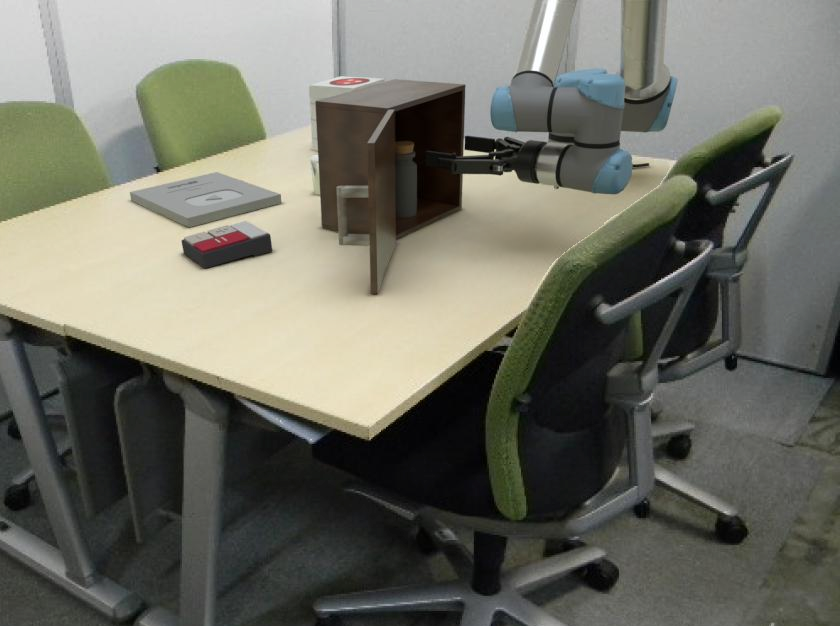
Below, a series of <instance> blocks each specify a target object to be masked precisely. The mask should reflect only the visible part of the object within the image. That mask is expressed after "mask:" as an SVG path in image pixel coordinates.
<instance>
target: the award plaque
mask: <svg viewBox="0 0 840 626" xmlns="http://www.w3.org/2000/svg"><path fill="white" fill-rule="evenodd" d="M129 197H130V201H131V202H133V203H135V204H137V205H139V206H141V207H144V208H146V209H148V210H150V211H152V212H154V213H156V214H159V215H161V216H163V217H165V218H167V219H169V220H171V221H174V222H176V223H178V224H180V225H182V226H184V227H186V228H192V227H196V226H201V225H203V224H207V223H211V222H216V221H219V220H223V219H227V218H231V217H234V216H239V215H242V214H246V213H250V212H254V211H257V210H262V209H265V208H268V207H273V206H277V205H280V204H282V194H281V193H278V192H275V191H272V190H270V189H267V188H264V187H261V186H258V185H256V184H252V183H249V182H247V181H244V180H241V179H238V178H235V177H232V176H230V175H227V174H224V173H221V172H219V171H216V172H211V173H207V174H202V175H198V176H194V177H188V178H185V179H180V180H176V181H171V182H167V183H163V184H159V185H155V186H151V187H145V188H141V189H137V190H132V191H130V192H129Z"/></svg>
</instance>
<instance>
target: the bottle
mask: <svg viewBox="0 0 840 626" xmlns="http://www.w3.org/2000/svg"><path fill="white" fill-rule="evenodd" d="M413 147H414V142H411V141H397V142H395V202H396V218H410V217H413V216H415V215H416V214H417V164H416V163H415V162H413V161H412V158H414V157H415V151H413Z"/></svg>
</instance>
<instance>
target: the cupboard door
mask: <svg viewBox="0 0 840 626" xmlns="http://www.w3.org/2000/svg"><path fill="white" fill-rule="evenodd" d="M367 160H368V186H337V208H338V231H339V232H338V245H339V246H342V247H343V246H345V247H347V246H348V247H349V246H350V247H353V246H354V247H356V246H357V247H358V246H360V247H369V268H370V269H369V273H370V274H369V275H370V279H369V280H370V294H372V295H378V294H379V292H380V288H381V287H382V286H381V285H382V283H383V280H384V277H385V275H386V271H387V269H388V266H389V264H390V261H391V258H392V256H393V252H394V250H395V247H396V244H397V240H396V202H395V110H388V111H387V113H386V114H385V116H384V117H383V119H382V120H381V122H380V124H379V125H378V127H377V128H376V130H375V131H374V133H373V135H372V136H371V138H370V139H369V141H368V143H367ZM347 198H368V200H369V234H348V223H347Z"/></svg>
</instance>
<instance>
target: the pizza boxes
mask: <svg viewBox="0 0 840 626" xmlns="http://www.w3.org/2000/svg"><path fill="white" fill-rule="evenodd" d="M383 82H386V78H378V77H363V76H362V77H361V76H346V75H345V76H343V75H340V76H337V77H333V78H329V79H326V80H322V81H318V82H316V83H312V84H309V85H308V93H309V94H308V95H309V96H308V97H309V108H310V110H309V111H310V128H311V131H310V132H311V147H312V148H311V149H312V151H316V152H318V143H317V124H316V105H315V101H317V100H321V99H325V98H328V97H332V96H335V95H339V94H343V93H346V92H350V91H354V90H357V89H361V88H365V87H368V86H372V85H375V84H379V83H383Z"/></svg>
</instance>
